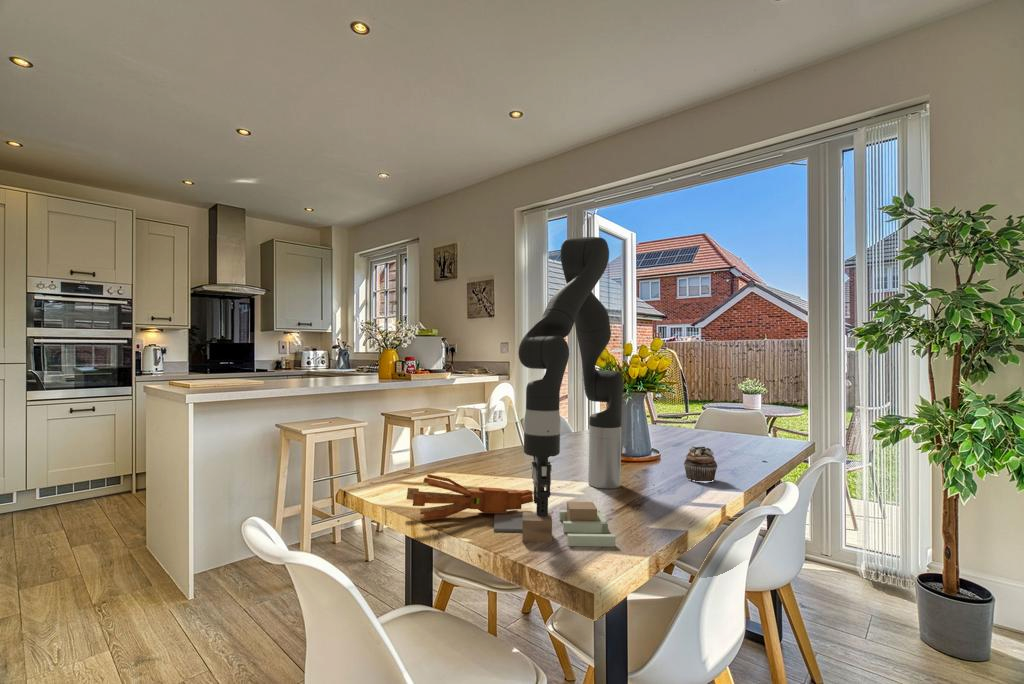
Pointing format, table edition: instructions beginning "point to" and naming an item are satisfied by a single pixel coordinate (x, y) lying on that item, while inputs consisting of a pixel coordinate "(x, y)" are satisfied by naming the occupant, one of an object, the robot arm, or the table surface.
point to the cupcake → (700, 464)
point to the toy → (465, 499)
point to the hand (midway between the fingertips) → (540, 509)
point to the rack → (585, 525)
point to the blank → (536, 528)
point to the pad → (508, 523)
